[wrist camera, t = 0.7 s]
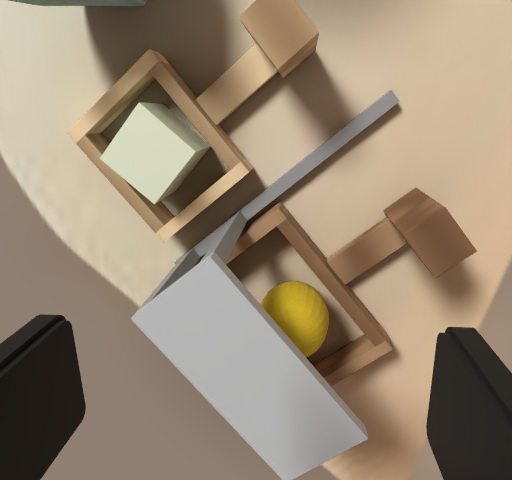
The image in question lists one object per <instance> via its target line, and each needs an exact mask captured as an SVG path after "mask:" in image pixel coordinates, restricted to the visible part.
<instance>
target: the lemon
mask: <svg viewBox="0 0 512 480" xmlns="http://www.w3.org/2000/svg"><path fill="white" fill-rule="evenodd" d="M261 306H262V307H263V309H264V310H265V311H266V312H267V313H268V314H269V315H270V317H271V318H272V319H273V320H274V321H275V322H276V324H277V325H278V326H279V327H280V328H281V329H282V331H283V332H284V333H285V334H286V335H287V336H288V337H289V339H290V340H291V341H292V342H293V343H294V344H295V346H296V347H297V348H298V349H299V350H300V351H301V353H302V354H303V355H304V356H305V357H308V356H310V355H312V354H313V353H315V352H316V351H317V350H318V349H319V348H320V347H321V345H322V343H323V341H324V340H325V338H326V335H327V331H328V327H329V313H328V309H327V306H326V303H325V301H324V299H323V298H322V296H321V295H320V293H319V292H318V291H317V290H315V289H314V288H313V287H312V286H310V285H308V284H306V283H303V282H299V281H288V282H284V283H281V284H279V285H277V286H275V287H274V288H273V289H272V290H270V291H269V292H268V294H267V295H266V296H265V298H264V299H263V301H262V304H261Z"/></svg>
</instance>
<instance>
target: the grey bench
mask: <svg viewBox="0 0 512 480" xmlns="http://www.w3.org/2000/svg"><path fill="white" fill-rule="evenodd" d="M398 102H400V101H399V100H398V99H397V97H396V96H395V94H394V93H393V91H392V90H391V91H388V92H387V93H386V94H385V95H383V96H382V97H381V98H380V99H378V100H377V101H376V102H375V103H373V104H372V105H371V106H370V107H368V108H367V109H366V110H365V111H363V112H362V113H361V114H360V115H358V116H357V117H356V118H355V119H353V120H352V121H351V122H350V123H348V124H347V125H346V126H345V127H343V128H342V129H341V130H340V131H338V132H337V133H336V134H334V135H333V136H332V137H331V138H329V139H328V140H327V141H326V142H324V143H323V144H322V145H321V146H319V147H318V148H317V149H316V150H314V151H313V152H312V153H311V154H309V155H308V156H307V157H306V158H304V159H303V160H302V161H301V162H299V163H298V164H297V165H296V166H294V167H293V168H292V169H291V170H289V171H288V172H287V173H285V174H284V175H283V176H282V177H280V178H279V179H278V180H277V181H275V182H274V183H273V184H272V185H270V186H269V187H268V188H267V189H265V190H264V191H263V192H262V193H260V194H259V195H258V196H257V197H255V198H254V199H253V200H252V201H250V202H249V203H248V204H247V205H245V206H244V207H243V208H242V209H240V210H239V211H238V212H236V213H235V214H234V215H233V216H231V217H230V218H229V219H228V220H226V221H225V222H224V223H223V224H221V225H220V226H219V227H218V228H216V229H215V230H214V231H213V232H211V233H210V234H209V235H208V236H206V237H205V238H204V239H203V240H201V241H200V242H199V243H198V244H196V245H195V246H194V247H193V248H191V249H190V250H189V251H187V252H186V253H185V254H184V255H182V256H181V257H180V258H179V259H177V261H176V262H175V264H176V265H175V266H174V267H173V269H172V270H171V271H170V272H169V273H168V275H167V276H166V277H165V278H164V280H163V281H162V282H161V283H160V284H159V286H158V287H157V288H156V289H155V290H154V292H153V293H152V294H151V295H150V296H149V298H148V299H147V300H146V301H145V302H144V304H143V305H142V306H141V307H140V308H139V310H138V311H137V312H136V313H135V314H134V316H133V317H132V318H131V320H132V321H133V322H134V323H135V324H136V325H137V326H138V327H139V328H140V329H141V330H142V331H143V332H144V333H145V334H146V336H147V337H148V338H150V340H151V341H152V342H153V343H154V344H155V345H156V346H157V347H158V348H159V349H160V350H161V351H162V352H163V354H164V355H166V357H167V358H168V359H169V360H170V361H171V362H172V363H173V364H174V365H175V366H176V367H177V368H178V369H179V371H180V372H181V373H182V374H183V375H184V376H185V377H186V378H187V379H188V380H189V381H190V382H191V383H192V384H193V385H194V386H195V387H196V389H197V390H198V391H199V392H200V393H201V394H202V395H203V396H204V397H205V398H206V399H207V400H208V401H209V402H210V403H211V404H212V405H213V406H214V408H215V409H216V410H217V411H218V412H219V413H220V414H221V415H222V416H223V417H224V418H225V419H226V420H227V421H228V422H229V424H230V425H231V426H232V427H233V428H234V429H235V430H236V431H237V432H238V433H239V434H240V435H241V436H242V437H243V438H244V439H245V440H246V442H247V443H248V444H249V445H250V446H251V447H252V448H253V449H254V450H255V451H256V452H257V453H258V454H259V455H260V456H261V457H262V459H263V460H264V461H265V462H266V463H267V464H268V465H269V466H270V467H271V468H272V469H273V470H274V471H275V472H276V473H277V474H278V476H280V478H281V479H282V480H292V479H294V478H296V477H298V476H300V475H302V474H304V473H305V472H307V471H309V470H311V469H313V468H315V467H317V466H318V465H320V464H322V463H324V462H326V461H328V460H330V459H332V458H334V457H335V456H337V455H339V454H341V453H343V452H345V451H347V450H348V449H350V448H352V447H354V446H356V445H358V444H360V443H362V442H363V441H365V440H367V439H368V435H367V430H366V427H365V425H364V424H363V423H362V422H361V421H360V420H359V419H358V417H357V416H356V415H355V414H354V413H353V412H352V410H351V409H350V408H349V407H348V406H347V405H346V403H345V402H344V401H343V400H342V399H341V398H340V397H339V395H338V394H337V393H336V392H335V391H334V390H333V388H332V387H331V386H330V385H329V384H328V383H327V381H326V380H325V379H324V378H323V377H322V376H321V375H320V373H319V372H318V371H317V370H316V369H315V368H314V366H313V365H312V364H311V363H310V362H309V361H308V359H307V358H306V357H305V356H304V355H303V354H302V353H301V351H300V350H299V349H298V348H297V347H296V346H295V344H294V343H293V342H292V341H291V340H290V339H289V337H288V336H287V335H286V334H285V333H284V332H283V331H282V329H281V328H280V327H279V326H278V325H277V324H276V322H275V321H274V320H273V319H272V318H271V317H270V315H269V314H268V313H267V312H266V311H265V310H264V309H263V307H262V306H261V305H260V304H259V303H258V302H257V300H256V299H255V298H254V297H253V296H252V295H251V293H250V292H249V291H248V290H247V289H246V288H245V287H244V285H243V284H242V283H241V282H240V281H239V280H238V278H237V277H236V276H235V275H234V274H233V273H232V271H231V270H230V269H229V268H228V267H227V266H226V265H225V264H226V262H227V260H228V258H229V256H230V254H231V252H232V250H233V248H234V246H235V244H236V242H237V240H238V238H239V236H240V234H241V232H242V230H243V228H244V226H245V224H246V222H247V220H249V219H250V218H251V217H252V216H254V215H255V214H256V213H258V212H259V211H260V210H261V209H263V208H264V207H265V206H267V205H268V204H269V203H270V202H272V201H273V200H274V199H275V198H277V197H278V196H279V195H281V194H282V193H283V192H284V191H286V190H287V189H288V188H290V187H291V186H292V185H293V184H295V183H296V182H297V181H299V180H300V179H301V178H302V177H304V176H305V175H306V174H307V173H309V172H310V171H311V170H313V169H314V168H315V167H316V166H318V165H319V164H320V163H322V162H323V161H324V160H325V159H327V158H328V157H329V156H330V155H332V154H333V153H334V152H336V151H337V150H338V149H339V148H341V147H342V146H343V145H345V144H346V143H347V142H348V141H350V140H351V139H352V138H354V137H355V136H356V135H357V134H359V133H360V132H361V131H362V130H364V129H365V128H366V127H368V126H369V125H370V124H371V123H373V122H374V121H375V120H377V119H378V118H379V117H380V116H382V115H383V114H384V113H386V112H387V111H388V110H389V109H391V108H392V107H393V106H394V105H396V104H397V103H398ZM205 253H206V254H205ZM204 254H205V255H204ZM203 255H204V257H203V258H202V260H201V261H200V263H199V264H197V265H196V266H195V264H196V263H197V261H198V260H199V259H200V257H201V256H203ZM194 266H195V267H194Z"/></svg>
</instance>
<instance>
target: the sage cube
mask: <svg viewBox="0 0 512 480" xmlns="http://www.w3.org/2000/svg"><path fill="white" fill-rule="evenodd" d="M210 147H211V146H210V145H209V144H208V143H207V142H206V141H205V140H204V139H202V138H201V137H200V136H199V135H198V134H197V133H196V132H194V131H193V130H192V129H191V128H190V127H189V126H188V125H186V124H185V123H184V122H183V121H182V120H181V119H180V118H178V117H177V116H176V115H175V114H174V113H173V112H172V111H170V110H169V109H168V108H167V107H166V106H165V105H164V104H160V103H143V102H139V103H138V104H137V106H136V107H135V108H134V110H133V111H132V113H131V114H130V116H129V117H128V118H127V120H126V121H125V123H124V124H123V126H122V127H121V129H120V130H119V131H118V133H117V134H116V136H115V137H114V139H113V140H112V141H111V143H110V144H109V146H108V147H107V149H106V150H105V151H104V153H103V154H102V156H101V157H100V159H101V160H102V161H103V162H104V163H106V164H107V165H108V166H109V167H110V168H112V169H113V170H114V171H115V172H116V173H118V174H119V175H120V176H121V177H122V178H124V179H125V180H126V181H127V182H128V183H129V184H131V185H132V186H133V187H134V188H135V189H137V190H138V191H139V192H140V193H141V194H143V195H144V196H145V197H146V198H147V199H149V200H150V201H151V202H152V203H153V204H156V203H157V202H159V201H161V200H162V199H164V198H166V197H167V196H169V195H170V194H172V193H174V192H175V191H176V190H177V188H178V187H179V186H180V184H181V183H182V182H183V181H184V179H185V178H186V177H187V176H188V174H189V173H190V172H191V171H192V169H193V168H194V167H195V166H196V164H197V163H198V162H199V161H200V159H201V158H202V157H203V156H204V154H205V153H206V152H207V151H208V149H209V148H210Z"/></svg>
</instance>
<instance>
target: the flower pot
mask: <svg viewBox="0 0 512 480" xmlns="http://www.w3.org/2000/svg"><path fill="white" fill-rule="evenodd" d="M10 1H15V2H21V3H27V4H32V5H40V6H143V5H145V4H146V3H147V2H148V0H10Z"/></svg>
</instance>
